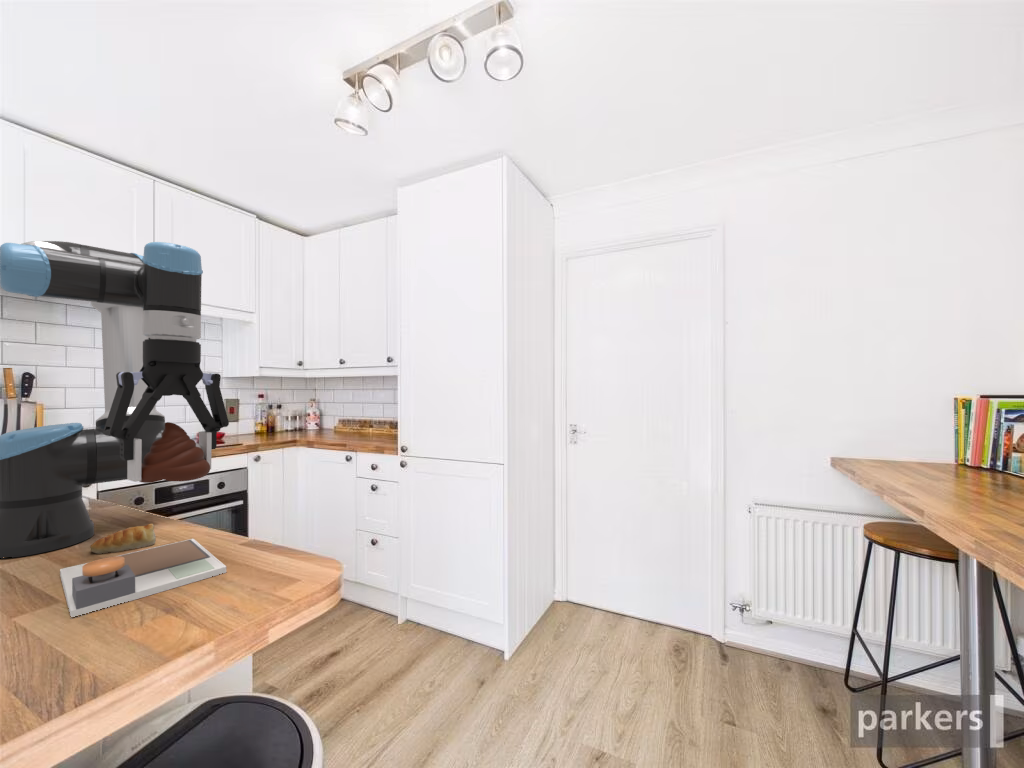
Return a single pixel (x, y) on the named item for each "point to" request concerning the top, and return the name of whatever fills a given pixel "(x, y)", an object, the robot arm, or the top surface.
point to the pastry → (125, 540)
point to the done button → (103, 568)
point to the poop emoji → (174, 458)
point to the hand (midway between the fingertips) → (171, 473)
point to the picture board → (140, 576)
